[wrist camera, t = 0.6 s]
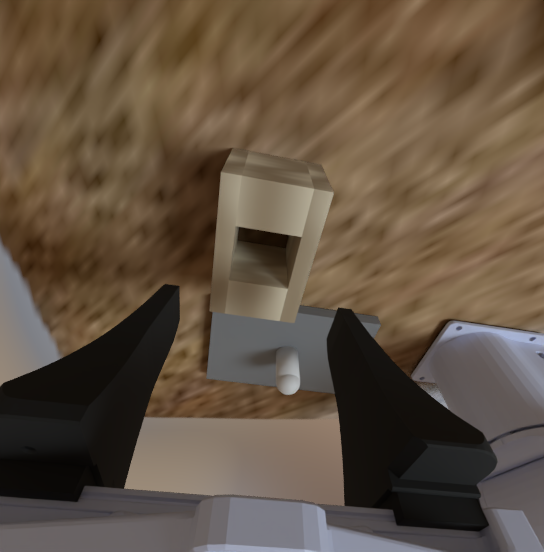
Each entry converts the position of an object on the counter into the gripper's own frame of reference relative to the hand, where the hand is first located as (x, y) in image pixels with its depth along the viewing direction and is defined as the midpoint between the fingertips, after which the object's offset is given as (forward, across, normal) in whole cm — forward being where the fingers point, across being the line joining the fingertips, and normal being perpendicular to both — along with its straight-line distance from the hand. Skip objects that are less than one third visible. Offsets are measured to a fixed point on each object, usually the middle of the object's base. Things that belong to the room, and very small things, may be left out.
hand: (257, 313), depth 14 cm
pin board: (+9, -4, +12) cm, 16 cm away
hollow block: (+9, 0, 0) cm, 9 cm away
